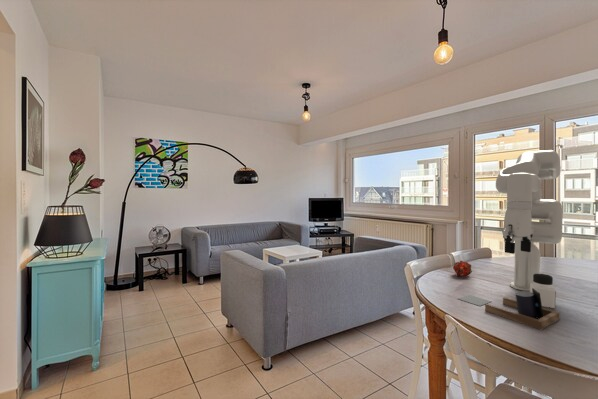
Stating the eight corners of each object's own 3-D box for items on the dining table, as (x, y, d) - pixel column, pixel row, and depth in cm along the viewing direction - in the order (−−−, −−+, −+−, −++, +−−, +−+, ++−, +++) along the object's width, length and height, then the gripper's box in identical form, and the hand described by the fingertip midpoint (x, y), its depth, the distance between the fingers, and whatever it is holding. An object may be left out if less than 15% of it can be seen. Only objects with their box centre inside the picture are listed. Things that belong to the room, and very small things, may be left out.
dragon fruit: (466, 276, 163) (461, 284, 154) (452, 265, 167) (446, 272, 158) (476, 265, 159) (472, 273, 150) (462, 255, 162) (457, 262, 154)
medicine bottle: (555, 308, 114) (556, 278, 114) (532, 304, 118) (532, 275, 118) (551, 302, 120) (552, 273, 120) (529, 299, 124) (530, 271, 124)
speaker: (544, 316, 106) (541, 288, 106) (544, 323, 102) (541, 293, 102) (518, 313, 111) (515, 286, 111) (517, 319, 107) (514, 290, 107)
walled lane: (504, 303, 120) (504, 297, 119) (559, 319, 104) (559, 312, 104) (485, 310, 112) (485, 304, 112) (541, 329, 97) (541, 322, 97)
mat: (469, 295, 129) (469, 294, 129) (491, 301, 121) (491, 301, 121) (457, 298, 124) (457, 298, 124) (479, 306, 116) (479, 305, 116)
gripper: (521, 206, 116) (520, 249, 116) (493, 206, 109) (492, 251, 109) (544, 206, 109) (542, 252, 110) (515, 206, 102) (514, 255, 102)
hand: (517, 252), depth 109 cm, fingers open, 9 cm apart
